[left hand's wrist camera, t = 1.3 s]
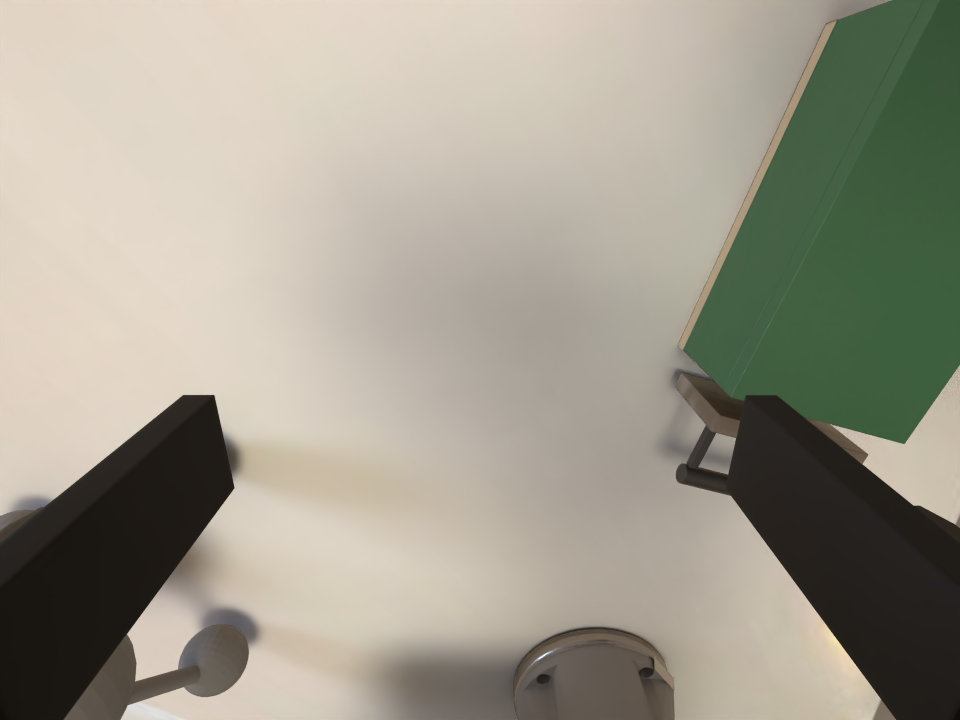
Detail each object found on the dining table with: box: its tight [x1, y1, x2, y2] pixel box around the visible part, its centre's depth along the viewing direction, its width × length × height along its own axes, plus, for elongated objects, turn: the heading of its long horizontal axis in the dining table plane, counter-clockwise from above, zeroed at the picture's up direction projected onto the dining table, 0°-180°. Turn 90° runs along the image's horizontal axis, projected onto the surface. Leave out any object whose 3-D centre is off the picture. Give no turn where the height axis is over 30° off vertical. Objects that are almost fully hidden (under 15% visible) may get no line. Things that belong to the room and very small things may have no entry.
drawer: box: [675, 373, 868, 496], centre depth 32 cm, size 25×10×6 cm, turn 164°
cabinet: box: [678, 0, 960, 444], centre depth 30 cm, size 21×12×8 cm, turn 164°
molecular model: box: [0, 510, 249, 720], centre depth 29 cm, size 24×22×30 cm
